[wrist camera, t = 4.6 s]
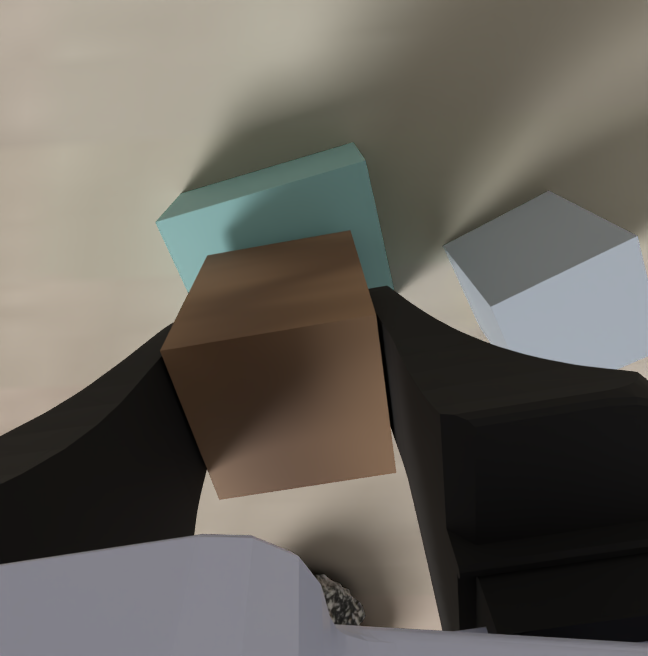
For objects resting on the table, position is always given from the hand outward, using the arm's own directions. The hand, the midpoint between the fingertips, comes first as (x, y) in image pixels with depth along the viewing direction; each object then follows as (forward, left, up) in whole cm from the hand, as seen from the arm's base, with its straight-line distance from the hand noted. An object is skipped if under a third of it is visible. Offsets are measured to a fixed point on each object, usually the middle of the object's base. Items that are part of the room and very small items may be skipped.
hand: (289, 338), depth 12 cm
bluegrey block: (-8, +2, -6) cm, 10 cm away
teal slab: (0, 0, -6) cm, 6 cm away
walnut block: (0, 0, -2) cm, 2 cm away
